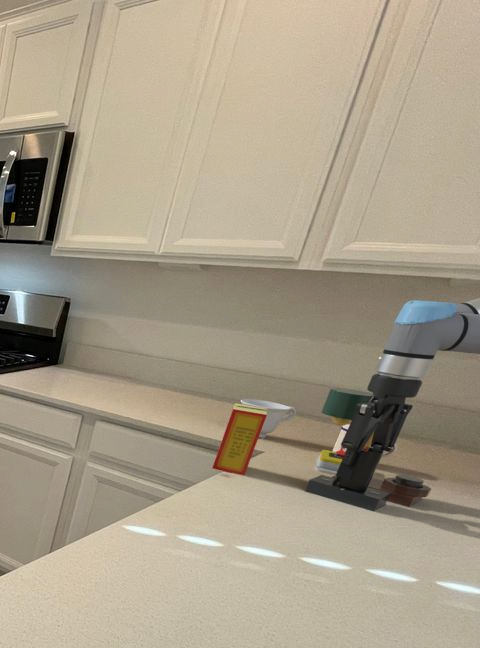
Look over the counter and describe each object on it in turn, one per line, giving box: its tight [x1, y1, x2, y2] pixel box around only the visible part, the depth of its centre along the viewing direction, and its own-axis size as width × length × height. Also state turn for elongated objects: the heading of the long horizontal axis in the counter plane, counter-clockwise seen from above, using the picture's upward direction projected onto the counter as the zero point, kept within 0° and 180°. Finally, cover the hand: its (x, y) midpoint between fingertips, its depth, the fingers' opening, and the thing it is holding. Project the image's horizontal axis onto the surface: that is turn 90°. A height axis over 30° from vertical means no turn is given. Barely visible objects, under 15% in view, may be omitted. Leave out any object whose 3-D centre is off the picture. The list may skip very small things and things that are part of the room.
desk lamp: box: [321, 387, 374, 447], centre depth 141 cm, size 12×8×18 cm, turn 31°
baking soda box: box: [211, 402, 267, 476], centre depth 147 cm, size 10×6×16 cm
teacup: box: [240, 398, 297, 439], centre depth 180 cm, size 12×15×10 cm
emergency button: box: [314, 449, 345, 476], centre depth 153 cm, size 9×4×15 cm
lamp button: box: [394, 474, 425, 488], centre depth 133 cm, size 4×4×2 cm
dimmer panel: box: [304, 474, 391, 512], centre depth 133 cm, size 12×10×3 cm
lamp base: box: [331, 475, 432, 508], centre depth 137 cm, size 15×10×4 cm, turn 31°
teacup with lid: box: [332, 423, 398, 458], centre depth 159 cm, size 12×9×12 cm
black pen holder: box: [333, 446, 384, 491], centre depth 131 cm, size 6×6×9 cm
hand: (353, 476), depth 132 cm, fingers closed on black pen holder, 6 cm apart
